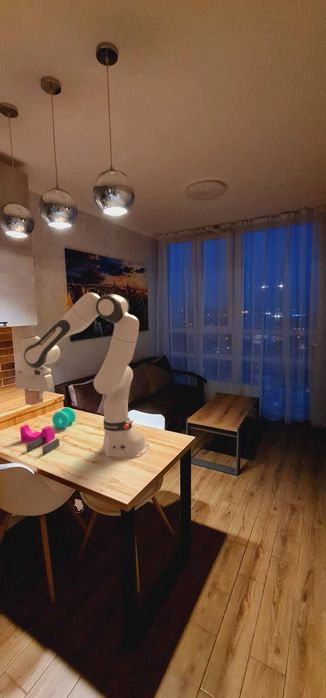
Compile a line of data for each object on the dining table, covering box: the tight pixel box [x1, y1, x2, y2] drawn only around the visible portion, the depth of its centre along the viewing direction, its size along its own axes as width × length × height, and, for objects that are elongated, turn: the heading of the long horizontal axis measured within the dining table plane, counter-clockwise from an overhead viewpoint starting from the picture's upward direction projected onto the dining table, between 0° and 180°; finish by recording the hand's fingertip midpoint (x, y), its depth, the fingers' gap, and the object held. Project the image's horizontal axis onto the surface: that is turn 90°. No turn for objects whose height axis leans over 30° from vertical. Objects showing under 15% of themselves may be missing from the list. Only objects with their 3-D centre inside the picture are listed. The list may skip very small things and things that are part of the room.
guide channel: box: [25, 436, 60, 456], centre depth 140 cm, size 10×10×4 cm
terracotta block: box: [24, 389, 44, 406], centre depth 143 cm, size 5×6×6 cm
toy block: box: [19, 424, 56, 444], centre depth 150 cm, size 15×6×8 cm, turn 78°
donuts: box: [51, 406, 77, 430], centre depth 167 cm, size 10×10×10 cm
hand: (34, 397), depth 143 cm, fingers closed on terracotta block, 5 cm apart
